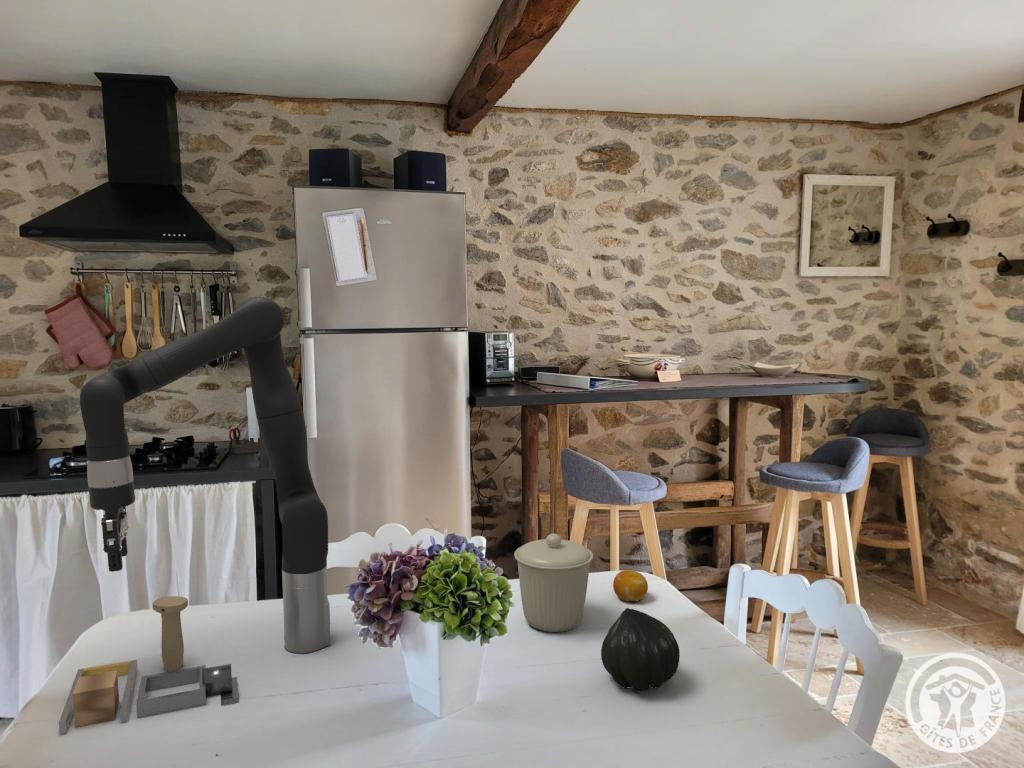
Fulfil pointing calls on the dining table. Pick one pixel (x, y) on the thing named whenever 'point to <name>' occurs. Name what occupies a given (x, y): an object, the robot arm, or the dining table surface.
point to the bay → (121, 668)
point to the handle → (171, 630)
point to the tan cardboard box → (96, 698)
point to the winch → (209, 684)
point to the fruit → (630, 585)
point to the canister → (553, 582)
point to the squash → (640, 651)
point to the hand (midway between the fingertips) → (118, 563)
